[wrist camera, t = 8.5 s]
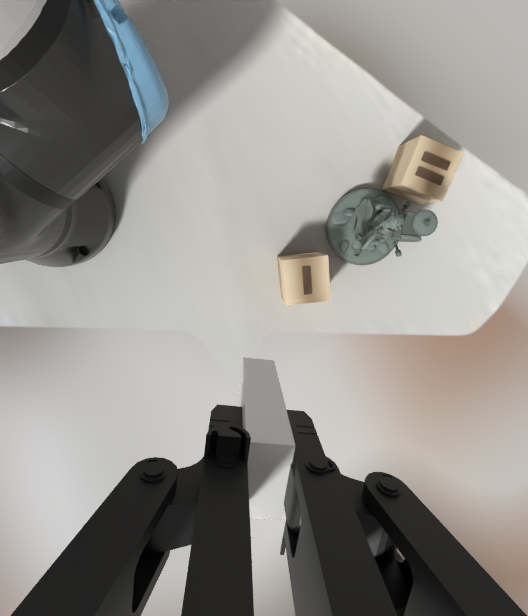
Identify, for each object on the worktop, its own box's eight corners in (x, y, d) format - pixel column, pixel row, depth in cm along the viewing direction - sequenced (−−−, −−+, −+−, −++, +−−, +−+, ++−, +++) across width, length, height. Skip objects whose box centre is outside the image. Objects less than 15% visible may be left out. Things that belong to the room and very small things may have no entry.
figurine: (332, 184, 48) (362, 171, 36) (405, 193, 49) (457, 184, 37) (321, 260, 50) (345, 271, 39) (391, 267, 51) (435, 280, 40)
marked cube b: (381, 189, 48) (401, 184, 42) (398, 146, 47) (422, 134, 41) (419, 203, 49) (443, 201, 43) (436, 161, 48) (464, 152, 42)
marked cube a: (280, 296, 51) (286, 305, 45) (277, 256, 50) (282, 260, 44) (320, 291, 51) (331, 300, 45) (318, 251, 50) (328, 255, 44)
